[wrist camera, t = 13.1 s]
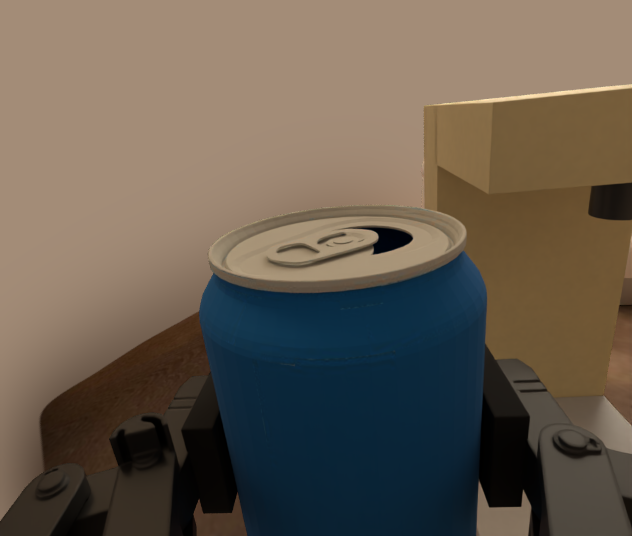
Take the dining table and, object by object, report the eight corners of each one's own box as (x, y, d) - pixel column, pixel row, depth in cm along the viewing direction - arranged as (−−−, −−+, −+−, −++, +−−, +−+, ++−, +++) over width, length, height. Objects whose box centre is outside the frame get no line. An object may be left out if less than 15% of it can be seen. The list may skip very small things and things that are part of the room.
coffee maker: (500, 622, 22) (547, 98, 13) (425, 381, 42) (423, 105, 33) (787, 623, 21) (1061, 46, 12) (571, 374, 40) (611, 86, 31)
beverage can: (520, 625, 12) (564, 228, 8) (331, 800, 9) (247, 335, 5) (384, 475, 18) (367, 192, 13) (239, 558, 15) (161, 236, 11)
